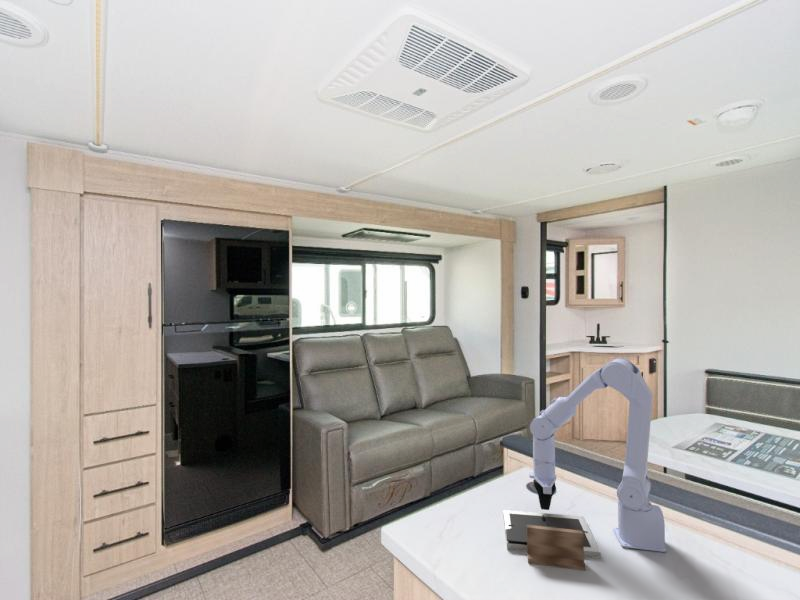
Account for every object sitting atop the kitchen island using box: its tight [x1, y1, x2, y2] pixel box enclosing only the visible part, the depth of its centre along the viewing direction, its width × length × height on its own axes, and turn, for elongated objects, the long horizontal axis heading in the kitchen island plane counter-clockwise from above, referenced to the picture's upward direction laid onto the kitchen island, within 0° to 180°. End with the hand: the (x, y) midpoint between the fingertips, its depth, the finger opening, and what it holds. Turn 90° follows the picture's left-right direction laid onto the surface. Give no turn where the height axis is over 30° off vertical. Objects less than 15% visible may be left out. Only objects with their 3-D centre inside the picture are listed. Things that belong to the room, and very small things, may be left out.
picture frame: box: [502, 509, 602, 559], centre depth 103 cm, size 16×3×21 cm
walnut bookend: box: [526, 525, 587, 571], centre depth 92 cm, size 12×3×7 cm, turn 76°
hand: (544, 508), depth 113 cm, fingers closed
